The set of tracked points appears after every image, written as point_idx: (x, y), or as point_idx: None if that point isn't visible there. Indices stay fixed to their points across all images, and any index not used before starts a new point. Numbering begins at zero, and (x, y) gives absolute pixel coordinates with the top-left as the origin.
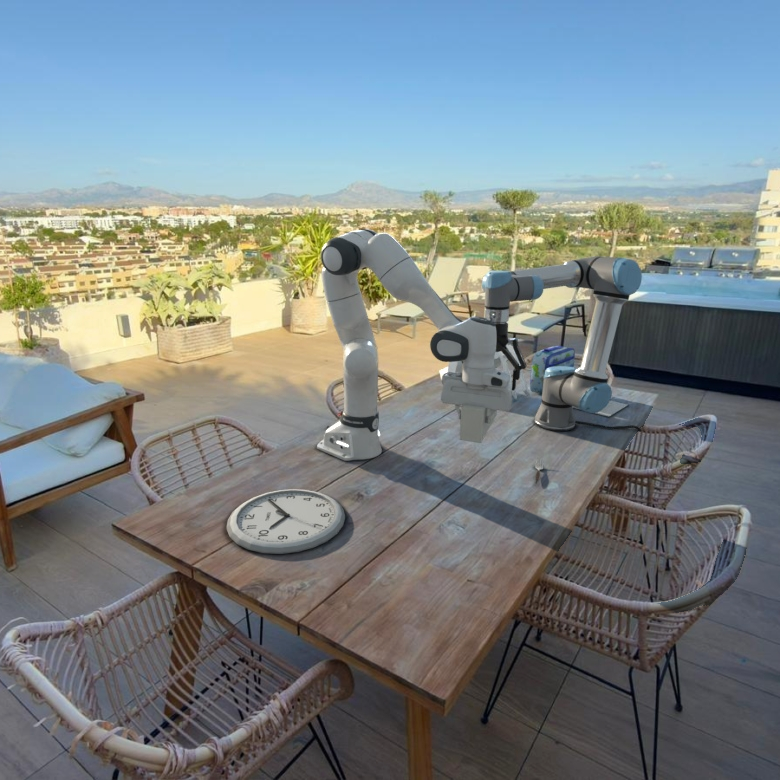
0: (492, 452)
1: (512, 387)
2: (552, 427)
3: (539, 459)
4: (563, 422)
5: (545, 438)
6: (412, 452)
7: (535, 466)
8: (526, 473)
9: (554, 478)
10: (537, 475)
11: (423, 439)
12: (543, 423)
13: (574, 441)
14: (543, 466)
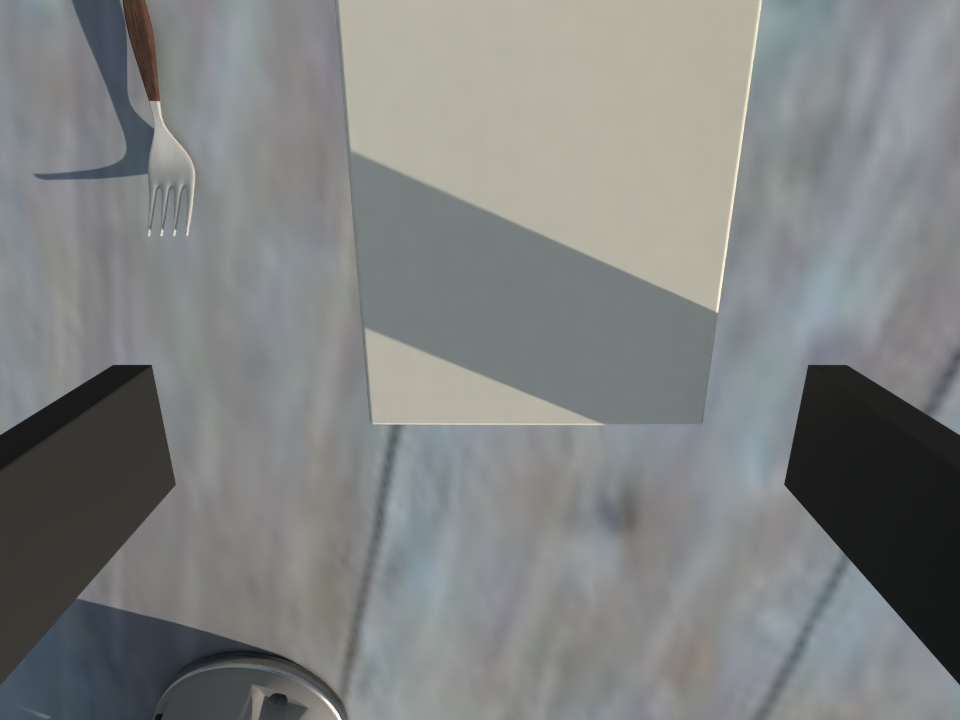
0: None
1: (117, 385)
2: (240, 664)
3: (175, 224)
4: (181, 701)
5: (251, 557)
6: (945, 81)
7: (192, 169)
8: (219, 64)
9: (60, 62)
10: (134, 13)
11: (887, 308)
12: (284, 683)
13: (118, 570)
14: (149, 180)
